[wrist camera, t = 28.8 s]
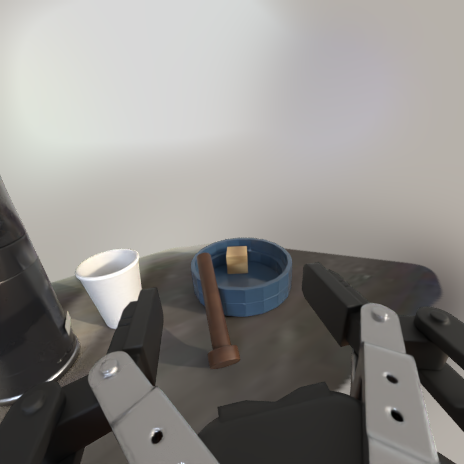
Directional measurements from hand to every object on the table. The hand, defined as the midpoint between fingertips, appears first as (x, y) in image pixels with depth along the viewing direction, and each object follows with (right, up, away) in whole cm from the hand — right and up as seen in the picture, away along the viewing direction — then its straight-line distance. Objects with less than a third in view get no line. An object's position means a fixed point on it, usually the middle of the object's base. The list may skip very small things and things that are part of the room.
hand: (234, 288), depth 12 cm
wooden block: (+1, -4, +34) cm, 34 cm away
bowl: (+2, -7, +30) cm, 30 cm away
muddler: (-1, -12, +14) cm, 18 cm away
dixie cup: (-17, -11, +24) cm, 32 cm away
